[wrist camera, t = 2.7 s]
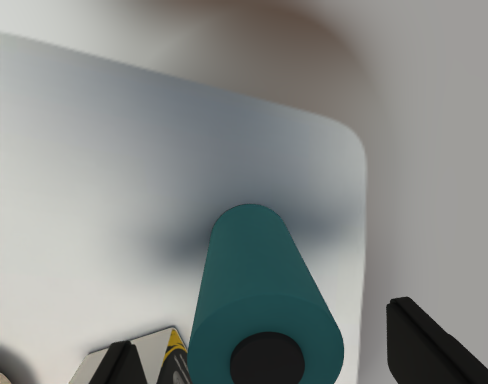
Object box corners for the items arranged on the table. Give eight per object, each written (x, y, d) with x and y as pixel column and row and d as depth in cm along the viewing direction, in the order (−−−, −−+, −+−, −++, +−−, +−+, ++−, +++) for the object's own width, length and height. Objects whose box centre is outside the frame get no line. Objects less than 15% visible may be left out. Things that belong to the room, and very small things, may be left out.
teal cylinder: (203, 210, 16) (168, 314, 7) (283, 197, 16) (344, 287, 7) (217, 280, 18) (202, 440, 9) (291, 268, 18) (352, 416, 9)
